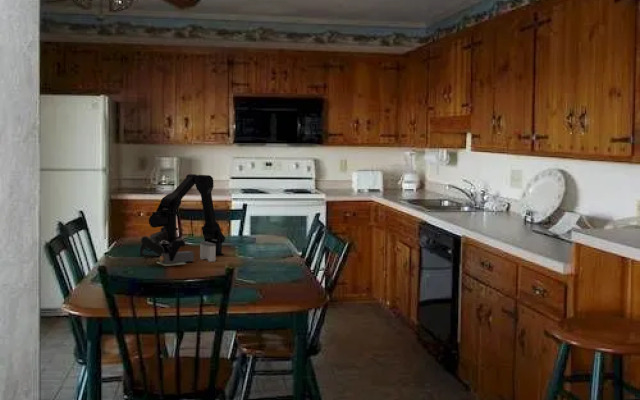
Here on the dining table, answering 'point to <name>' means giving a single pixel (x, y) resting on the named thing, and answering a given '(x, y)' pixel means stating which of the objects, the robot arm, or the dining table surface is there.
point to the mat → (171, 263)
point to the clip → (207, 251)
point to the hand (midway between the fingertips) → (169, 260)
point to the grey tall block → (177, 257)
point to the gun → (150, 246)
